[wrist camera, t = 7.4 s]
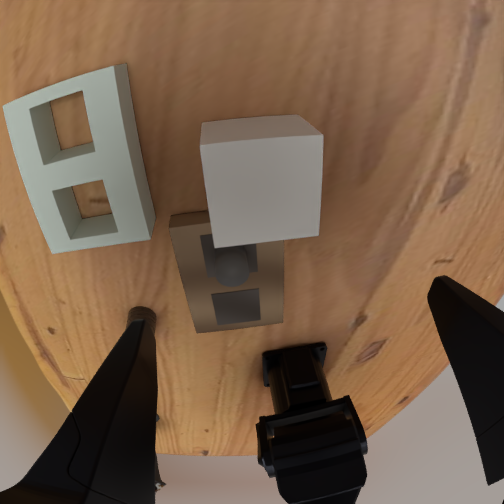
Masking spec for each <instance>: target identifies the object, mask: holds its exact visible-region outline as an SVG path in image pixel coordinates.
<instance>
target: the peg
mask: <svg viewBox="0 0 504 504" xmlns="http://www.w3.org/2000/svg"><path fill="white" fill-rule="evenodd" d="M138 319H146V320H147V321H148V323H149V325H150V327H151V330H152V332H153V334H154V336H155V327H156V314H155V313H154V312H153V311H152V310H151V309H149V308H146V307H134V308H132V309H131V310H130V311H129V315H128V320H127V325H126V329H127V327H128V326H129V324H130V323H131V322H132V321H133V320H138Z"/></svg>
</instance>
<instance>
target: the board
mask: <svg viewBox="0 0 504 504" xmlns="http://www.w3.org/2000/svg"><path fill="white" fill-rule="evenodd" d="M169 232H170V236H171V240H172V244H173V248H174V252H175V256H176V260H177V264H178V268H179V272H180V276H181V279H182V283H183V287H184V290H185V294H186V298H187V301H188V305H189V308H190V312H191V315H192V319H193V322H194V326H195V329H196V332H197V333H206V332H215V331H224V330H232V329H241V328H248V327H256V326H263V325H271V324H278V323H283V304H284V240H279V241H270V242H262V243H254V244H246V245H237V246H229V247H221V248H215V247H214V241H213V235H212V228H211V222H210V215H209V211H203V212H195V213H188V214H180V215H173V216H171V218H170V224H169Z"/></svg>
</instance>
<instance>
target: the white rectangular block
mask: <svg viewBox="0 0 504 504" xmlns="http://www.w3.org/2000/svg"><path fill="white" fill-rule="evenodd" d="M200 152H201V160H202V167H203V174H204V181H205V188H206V195H207V202H208V209H209V215H210V222H211V228H212V235H213V241H214V247H215V248H221V247H229V246H237V245H246V244H254V243H262V242H270V241H279V240H287V239H295V238H304V237H312V236H319V224H320V208H321V190H322V167H323V134H322V133H320V132H319V131H318V130H317V129H316V128H314V127H313V126H312V125H311V124H309V123H308V122H307V121H306V120H304V119H303V118H302V117H301V116H299V115H298V114H297V115H276V116H261V117H249V118H238V119H228V120H219V121H210V122H202V126H201V136H200Z"/></svg>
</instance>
